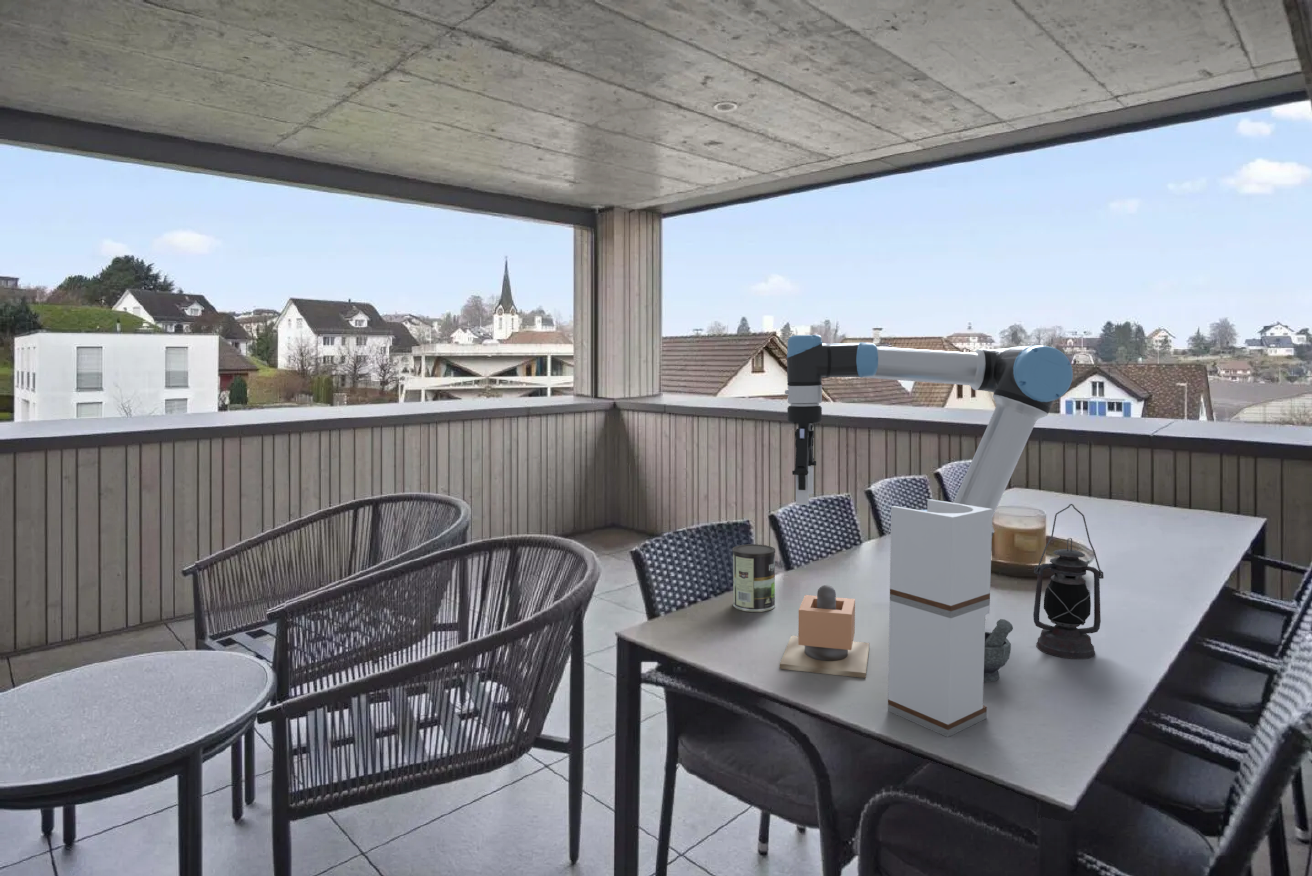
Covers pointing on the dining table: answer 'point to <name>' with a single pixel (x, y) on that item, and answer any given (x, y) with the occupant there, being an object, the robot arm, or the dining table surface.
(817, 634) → the square collar
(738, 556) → the coffee can
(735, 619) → the dining table surface
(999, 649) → the mortar and pestle
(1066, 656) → the lantern
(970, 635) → the white square vase
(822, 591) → the post stand
